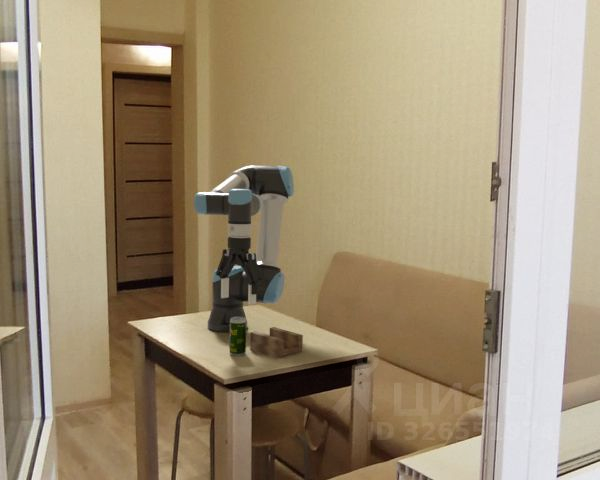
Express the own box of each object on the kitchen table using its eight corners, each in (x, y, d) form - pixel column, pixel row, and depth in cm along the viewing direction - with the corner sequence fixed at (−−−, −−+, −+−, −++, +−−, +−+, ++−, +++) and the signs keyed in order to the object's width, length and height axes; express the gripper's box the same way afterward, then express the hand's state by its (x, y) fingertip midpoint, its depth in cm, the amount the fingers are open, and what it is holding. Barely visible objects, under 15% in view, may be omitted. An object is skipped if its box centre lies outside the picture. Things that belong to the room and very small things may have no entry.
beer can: (237, 350, 231) (238, 315, 230) (249, 353, 228) (249, 318, 227) (226, 353, 227) (226, 318, 226) (237, 357, 224) (238, 321, 222)
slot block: (250, 349, 233) (250, 332, 232) (273, 343, 241) (273, 327, 240) (278, 358, 223) (279, 340, 223) (302, 352, 231) (302, 334, 231)
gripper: (206, 233, 229) (205, 296, 231) (256, 241, 212) (255, 308, 214) (223, 232, 234) (222, 293, 236) (274, 239, 217) (272, 305, 219)
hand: (238, 300), depth 225 cm, fingers open, 13 cm apart
